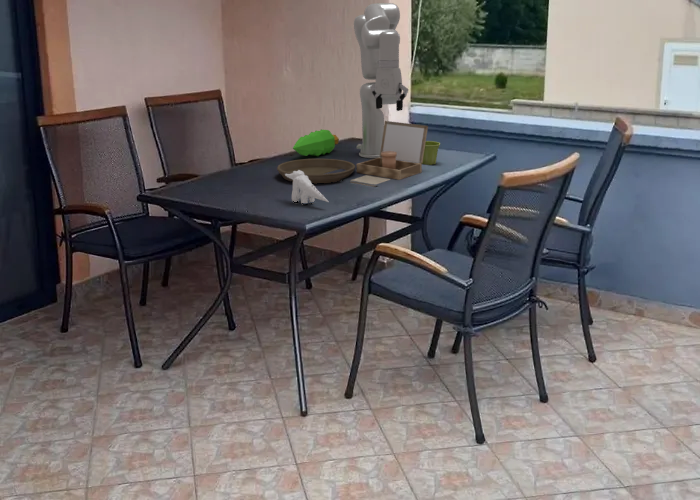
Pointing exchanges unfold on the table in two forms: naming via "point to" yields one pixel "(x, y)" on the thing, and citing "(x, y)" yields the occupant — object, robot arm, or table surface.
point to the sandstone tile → (369, 180)
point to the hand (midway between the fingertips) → (389, 109)
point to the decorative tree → (316, 143)
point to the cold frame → (400, 172)
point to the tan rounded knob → (389, 159)
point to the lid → (404, 140)
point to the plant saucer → (317, 169)
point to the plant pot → (430, 152)
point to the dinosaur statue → (304, 188)
